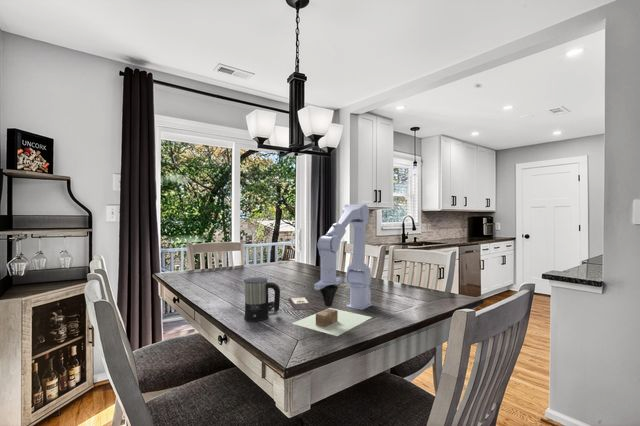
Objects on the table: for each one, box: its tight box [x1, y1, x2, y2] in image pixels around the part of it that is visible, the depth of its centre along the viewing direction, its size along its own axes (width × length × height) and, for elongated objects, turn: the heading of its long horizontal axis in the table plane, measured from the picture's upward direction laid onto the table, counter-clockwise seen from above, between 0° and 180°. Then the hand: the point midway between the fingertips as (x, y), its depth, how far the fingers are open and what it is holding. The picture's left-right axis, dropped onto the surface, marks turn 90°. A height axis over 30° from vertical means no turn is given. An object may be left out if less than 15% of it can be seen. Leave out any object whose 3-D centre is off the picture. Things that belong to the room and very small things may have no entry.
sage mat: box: [291, 307, 373, 337], centre depth 122 cm, size 24×20×1 cm
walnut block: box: [315, 308, 339, 327], centre depth 119 cm, size 4×4×8 cm
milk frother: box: [243, 276, 281, 322], centre depth 130 cm, size 14×16×15 cm
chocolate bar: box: [288, 296, 317, 311], centre depth 144 cm, size 9×1×18 cm
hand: (328, 305), depth 119 cm, fingers closed
